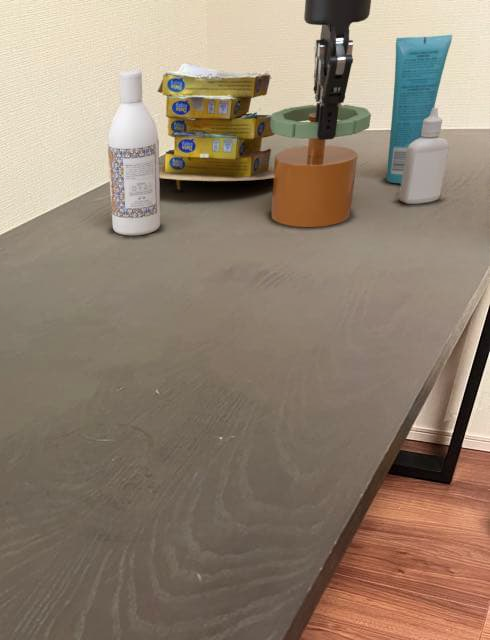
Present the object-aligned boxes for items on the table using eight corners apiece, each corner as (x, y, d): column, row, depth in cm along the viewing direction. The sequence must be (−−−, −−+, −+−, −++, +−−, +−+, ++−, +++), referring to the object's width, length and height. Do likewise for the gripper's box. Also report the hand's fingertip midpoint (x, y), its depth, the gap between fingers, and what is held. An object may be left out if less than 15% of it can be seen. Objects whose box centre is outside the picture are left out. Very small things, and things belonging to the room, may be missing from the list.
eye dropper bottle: (440, 205, 112) (458, 111, 105) (398, 204, 114) (413, 112, 107) (439, 196, 116) (456, 104, 108) (398, 196, 117) (412, 105, 110)
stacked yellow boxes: (181, 159, 144) (180, 53, 134) (309, 170, 132) (319, 54, 122) (104, 196, 130) (97, 80, 119) (240, 212, 117) (245, 84, 107)
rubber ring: (359, 114, 111) (361, 101, 110) (375, 135, 101) (377, 121, 100) (268, 120, 112) (268, 107, 111) (274, 141, 102) (275, 127, 101)
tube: (422, 174, 125) (447, 31, 113) (430, 183, 121) (457, 36, 109) (374, 177, 126) (393, 36, 114) (380, 186, 122) (401, 40, 110)
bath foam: (120, 221, 118) (112, 68, 106) (165, 221, 116) (162, 65, 104) (107, 236, 113) (97, 77, 101) (153, 237, 111) (149, 75, 99)
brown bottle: (342, 201, 117) (354, 103, 109) (356, 224, 109) (370, 120, 101) (267, 206, 119) (273, 109, 110) (275, 229, 110) (282, 126, 102)
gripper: (386, -27, 86) (364, 147, 96) (362, -34, 96) (345, 123, 107) (316, -20, 87) (301, 151, 97) (300, -28, 97) (288, 127, 108)
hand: (324, 136), depth 102 cm, fingers closed on rubber ring, 2 cm apart
